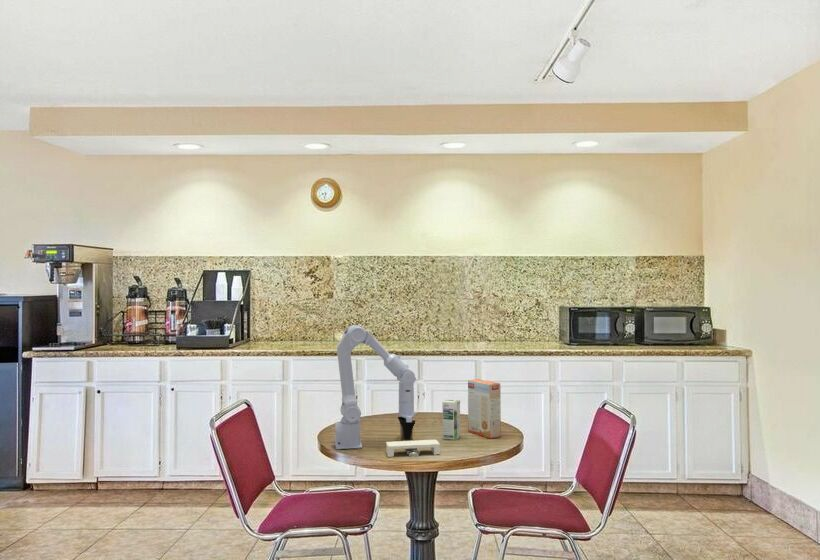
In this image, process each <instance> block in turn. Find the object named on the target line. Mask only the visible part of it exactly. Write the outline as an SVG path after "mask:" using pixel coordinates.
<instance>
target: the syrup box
mask: <svg viewBox="0 0 820 560" xmlns="http://www.w3.org/2000/svg"><path fill="white" fill-rule="evenodd" d="M441 407H442V409H441V410H442V440H452V441H457V440H458V439H459V438H460V437H461V400H460V399H450V398H449V399H448V398H446V399H444V400H442V405H441Z"/></svg>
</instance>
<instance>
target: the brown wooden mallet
mask: <svg viewBox="0 0 820 560" xmlns="http://www.w3.org/2000/svg"><path fill="white" fill-rule="evenodd" d="M399 426H400V428H399V429H400V430H399V431H400V433H399V434H400V435H399V436H400V438H399V441H400V440H401V441H414V440H413V436H414V430H413V429H412V433H411V438H410V439H404V434H403V428H402V425H400V424H399ZM408 450H418V448H408V449H405V451H406V452H407V451H408Z"/></svg>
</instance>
